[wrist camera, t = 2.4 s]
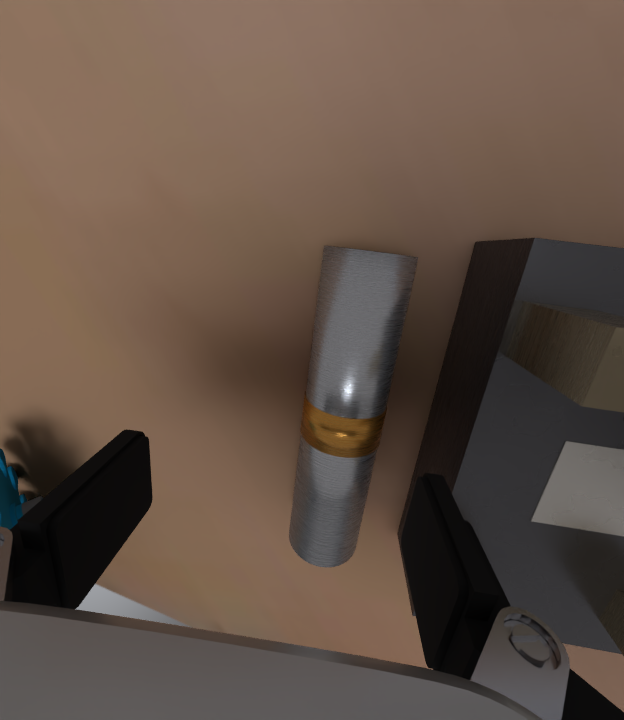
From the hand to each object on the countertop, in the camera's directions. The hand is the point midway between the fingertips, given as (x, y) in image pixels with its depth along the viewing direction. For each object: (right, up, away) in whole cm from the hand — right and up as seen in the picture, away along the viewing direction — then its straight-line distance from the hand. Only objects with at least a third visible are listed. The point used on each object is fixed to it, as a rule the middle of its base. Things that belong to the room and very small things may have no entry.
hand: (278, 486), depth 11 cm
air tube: (+3, +1, +5) cm, 6 cm away
